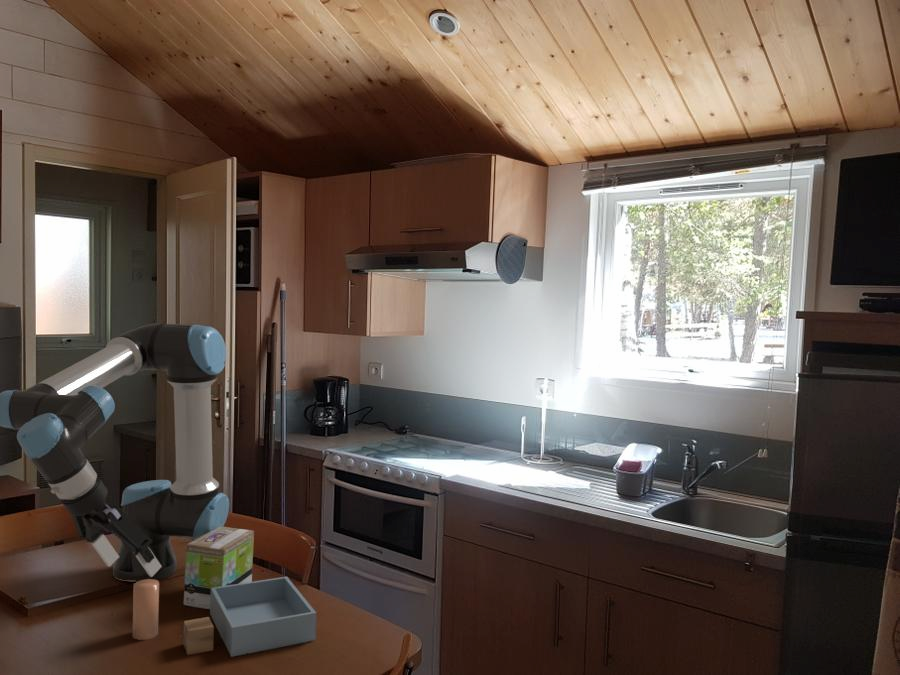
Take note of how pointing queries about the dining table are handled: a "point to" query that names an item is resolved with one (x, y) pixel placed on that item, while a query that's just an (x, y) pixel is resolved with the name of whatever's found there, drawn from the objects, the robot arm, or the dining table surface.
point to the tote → (262, 615)
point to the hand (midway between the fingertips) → (134, 566)
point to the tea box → (217, 563)
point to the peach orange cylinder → (145, 609)
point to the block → (198, 635)
